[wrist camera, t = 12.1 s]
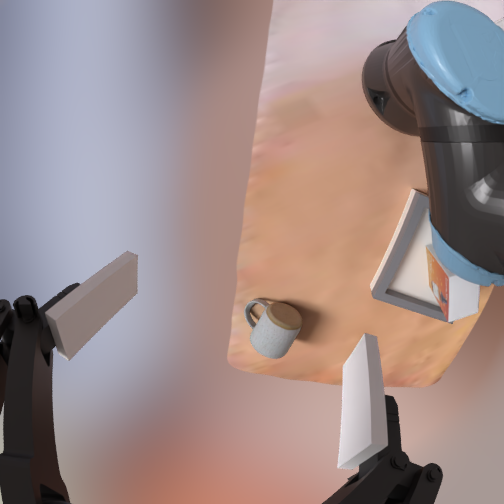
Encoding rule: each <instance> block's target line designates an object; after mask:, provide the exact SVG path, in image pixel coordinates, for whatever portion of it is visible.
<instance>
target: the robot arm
mask: <svg viewBox="0 0 504 504" xmlns="http://www.w3.org/2000/svg"><path fill="white" fill-rule="evenodd" d="M362 86H363V91H364V94H365V97H366V99H367V101H368V103H369V105H370V107H371V108H372V110H373V111H374V112H375V114H376V115H377V116H378V117H379V118H380V119H381V120H382V121H383V122H384V123H385V124H387V125H388V126H390V127H391V128H393V129H395V130H397V131H399V132H401V133H404V134H408V135H415V136H420V138H421V146H422V151H423V157H424V164H425V170H426V178H427V186H428V196H429V207H430V208H429V210H428V218H429V222H430V226H431V233H432V244H433V248H434V250H435V253H436V255H437V257H438V259H439V260H440V261H441V263H442V264H443V265H444V266H445V267H446V268H447V269H448V270H449V271H451V272H452V273H453V274H455V275H457V276H458V277H460V278H462V279H464V280H466V281H468V282H471V283H474V284H477V285H482V286H490V285H491V283H493V284H495V285H496V286H503V285H504V31H503V29H502V28H501V27H500V26H497V25H496V24H495V23H494V22H493V21H492V20H491V19H490V18H489V17H488V16H486V15H485V14H484V13H482V12H480V11H479V10H477V9H475V8H473V7H471V6H468V5H466V4H463V3H459V2H455V1H437V2H433V3H431V4H429V5H427V6H426V7H425V8H424V9H422V10H421V11H420V12H418V13H416V14H415V15H414V16H412V17H411V20H409V22H408V24H407V26H406V27H405V28H404V30H403V31H402V33H401V34H400V35H399V37H398V38H397V40H391V41H387V42H384V43H382V44H381V45H379V46H377V47H376V48H375V49H374V50H373V51H372V52H371V53H370V55H369V56H368V58H367V60H366V62H365V64H364V67H363V71H362ZM137 260H138V255H136V254H134V253H131V252H129V251H127V252H125V253H124V254H122V255H121V256H119V257H118V258H116V259H115V260H114V261H113V262H111V263H109V264H108V265H107V266H105V267H104V268H102V269H101V270H100V271H98V272H97V273H96V274H94V275H93V276H92V277H90V278H89V279H88V280H86V281H85V282H84V283H82V284H79V283H75V284H72V285H70V286H68V287H66V288H65V289H64V290H62V292H60V293H58V294H57V296H55V297H53V298H52V299H51V300H50V301H48V302H47V303H46V304H44V305H43V306H42V307H41V308H39V309H38V306H37V303H36V300H35V298H33V297H32V296H29V295H25V296H21V297H19V298H18V299H16V300H15V301H14V303H13V306H14V309H15V310H13V309H12V308H11V305H10V303H9V301H7V300H5V299H2V300H0V340H1V338H2V340H1V342H0V414H1V411H2V407H3V403H4V422H3V424H4V425H3V432H4V433H3V435H4V451H3V453H1V454H0V488H1V495H2V501H3V504H71V503H70V500H69V496H68V492H67V488H66V486H65V483H64V482H63V480H62V478H61V475H60V471H59V465H58V459H57V452H56V444H55V434H54V422H53V402H52V369H53V368H52V367H53V350H52V349H53V348H54V347H55V346H56V348H57V351H58V353H59V354H60V355H61V356H63V357H64V358H65V359H67V360H68V361H70V360H71V358H72V357H73V356H74V355H75V354H76V353H77V352H78V351H79V350H80V349H81V348H82V347H83V346H84V345H85V344H86V343H87V342H88V341H89V340H90V339H91V338H92V337H93V336H94V335H95V334H96V333H97V332H98V331H99V330H100V329H101V328H102V327H103V326H104V325H105V324H106V323H107V322H108V321H109V320H110V319H111V318H112V317H113V316H114V315H115V314H116V313H117V312H118V311H119V310H120V309H121V308H122V307H123V306H124V305H126V304H127V302H128V301H130V300H131V299H132V298H133V297H134V296H135V295H136V294H137V264H138V262H137ZM357 466H359V472H358V473H357V474H355V475H353V476H351V477H350V478H348V480H349V481H348V482H347V483H346V484H344V485H343V486H342V487H341V488H340V489H339V490H338V491H337V492H335V493H334V494H333V495H332V496H331V497H329V498H328V499H327V500H326V501H325V502H323V503H322V504H434V502H435V499H436V496H437V494H438V491H439V488H440V485H441V482H442V478H443V474H442V470H441V468H440V467H439V466H438V465H437V464H434V463H430V464H428V465H426V466H424V467H422V466H419V465H417V464H414V463H411V462H410V461H409V458H408V456H407V455H406V453H405V452H403V451H402V449H401V436H400V424H399V416H398V405H397V403H396V401H395V399H394V397H393V396H388V395H385V394H384V385H383V376H382V368H381V361H380V354H379V347H378V341H377V336H374V335H370V334H367V333H364V335H363V336H362V338H361V339H360V341H359V343H358V344H357V346H356V347H355V349H354V350H353V352H352V353H351V355H350V356H349V358H348V359H347V361H346V362H345V364H344V365H343V392H342V418H341V433H340V446H339V456H338V466H337V468H342V469H354V468H356V467H357Z"/></svg>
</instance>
